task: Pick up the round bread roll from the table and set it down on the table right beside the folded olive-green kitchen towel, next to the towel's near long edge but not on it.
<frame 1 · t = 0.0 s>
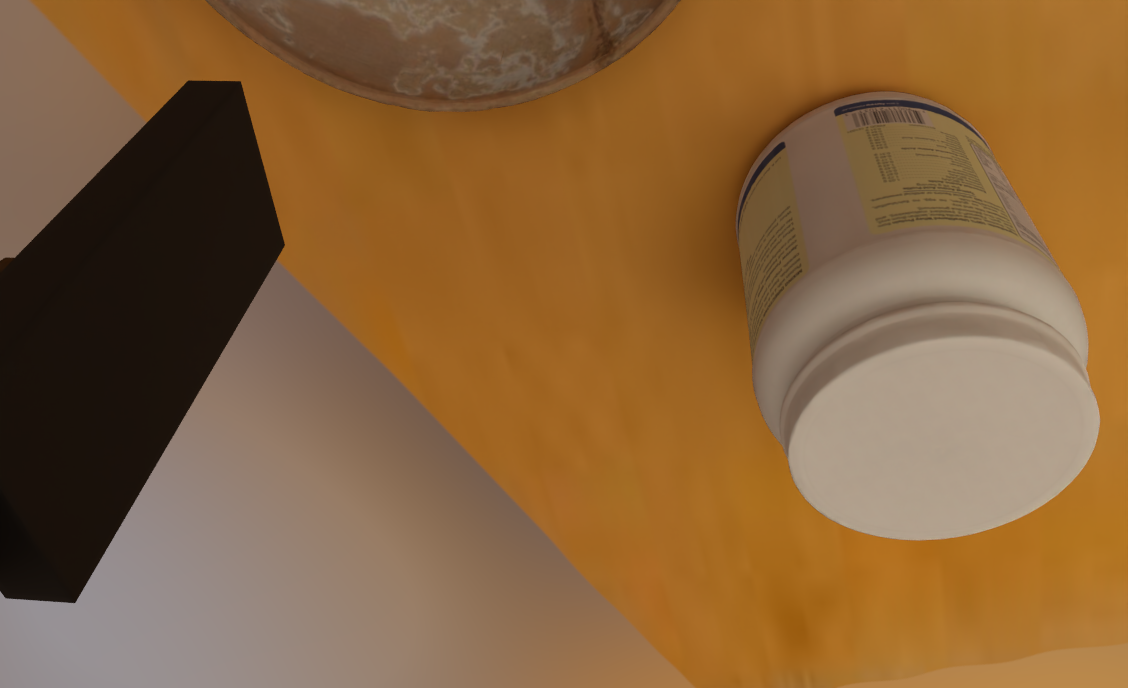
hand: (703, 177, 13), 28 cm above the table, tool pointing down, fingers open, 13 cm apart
supplement tub: (858, 196, 44), on the table
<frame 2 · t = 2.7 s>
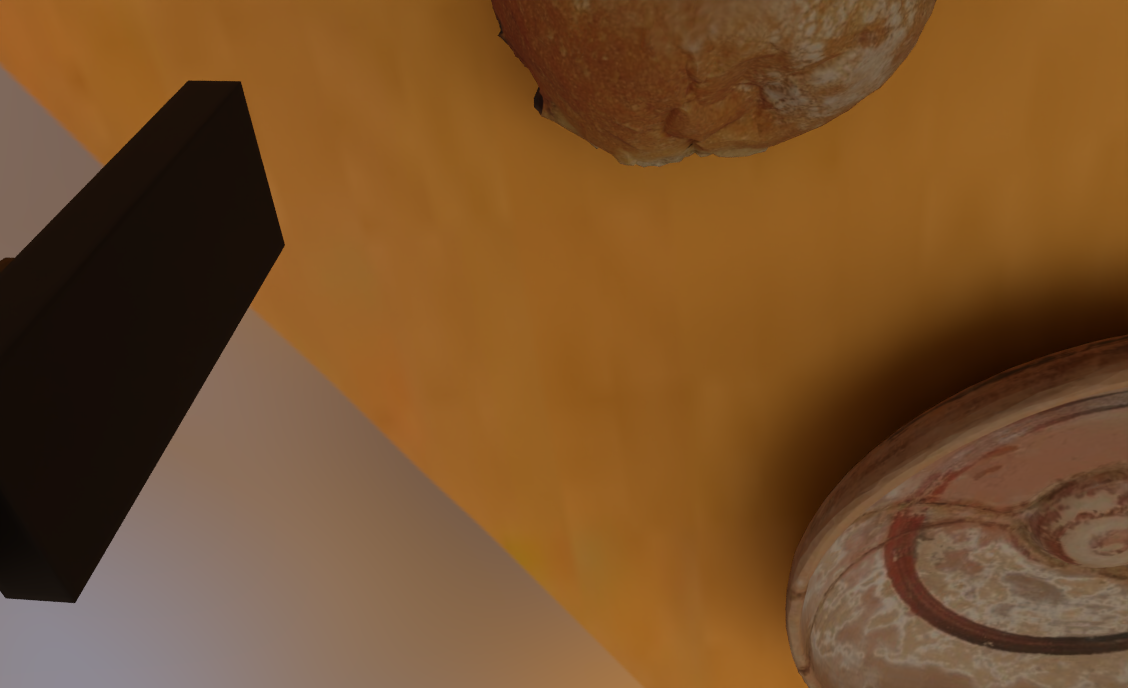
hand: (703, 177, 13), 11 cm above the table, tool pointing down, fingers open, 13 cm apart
ceramic bowl: (1098, 504, 33), on the table
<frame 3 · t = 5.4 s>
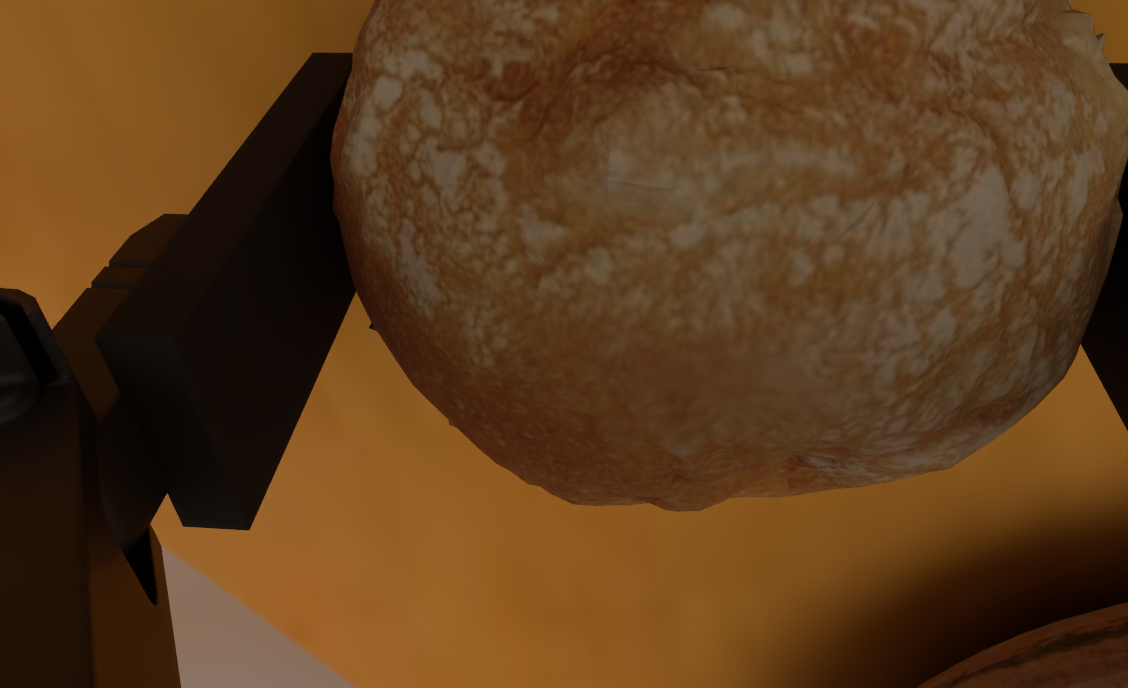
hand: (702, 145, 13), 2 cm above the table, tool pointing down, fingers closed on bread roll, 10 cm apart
bread roll: (695, 129, 14), point 2 cm above the table, touching gripper
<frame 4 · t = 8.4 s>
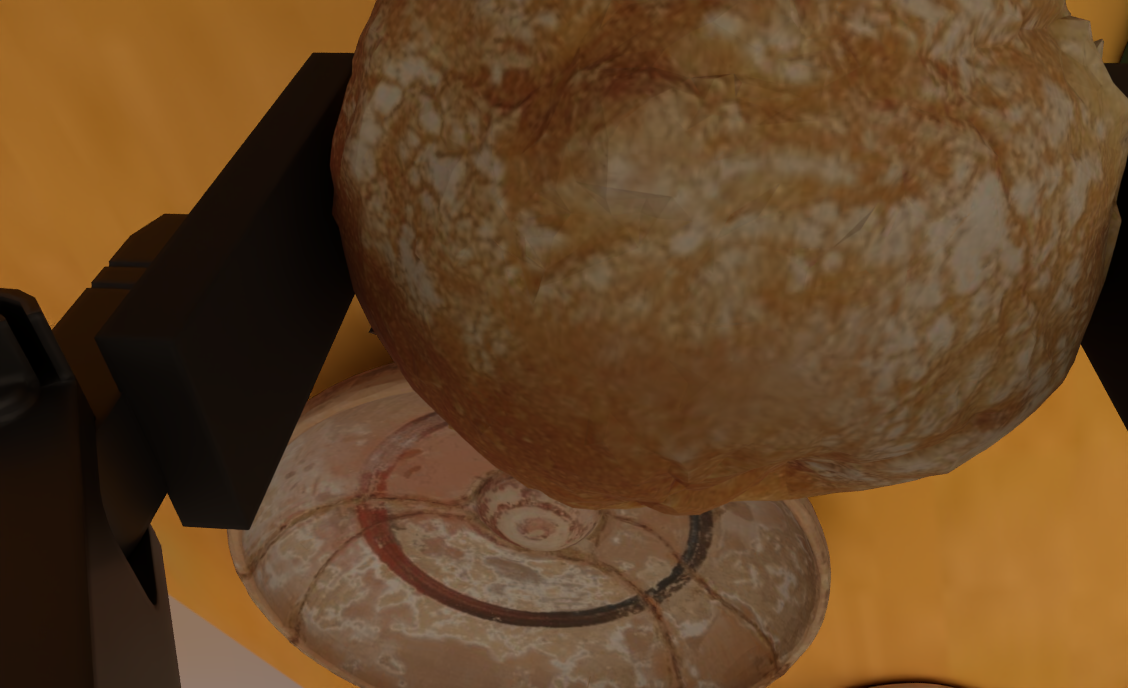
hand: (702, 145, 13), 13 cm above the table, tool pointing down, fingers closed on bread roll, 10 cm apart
ceramic bowl: (540, 497, 39), on the table
bread roll: (694, 133, 14), point 12 cm above the table, touching gripper
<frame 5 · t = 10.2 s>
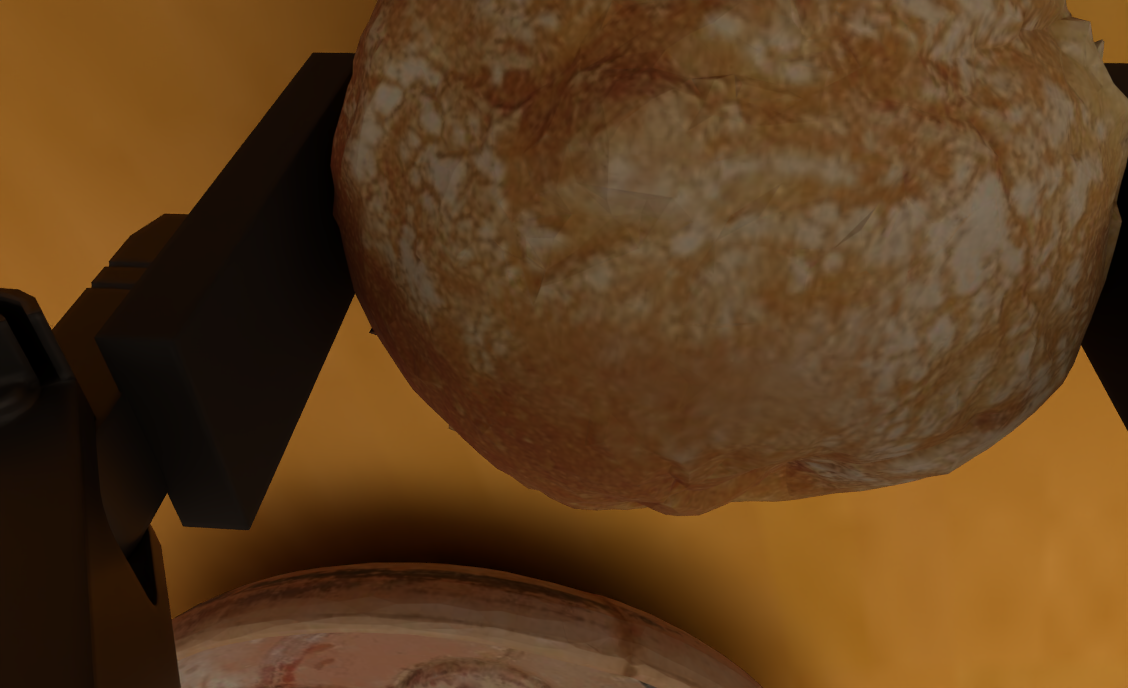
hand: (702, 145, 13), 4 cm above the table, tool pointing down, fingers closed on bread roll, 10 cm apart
ceramic bowl: (483, 681, 32), on the table
bread roll: (695, 133, 14), point 3 cm above the table, touching gripper
when the fingers open (0 cm above the table, at t = 11.6 s): bread roll stays where it is, on the table.
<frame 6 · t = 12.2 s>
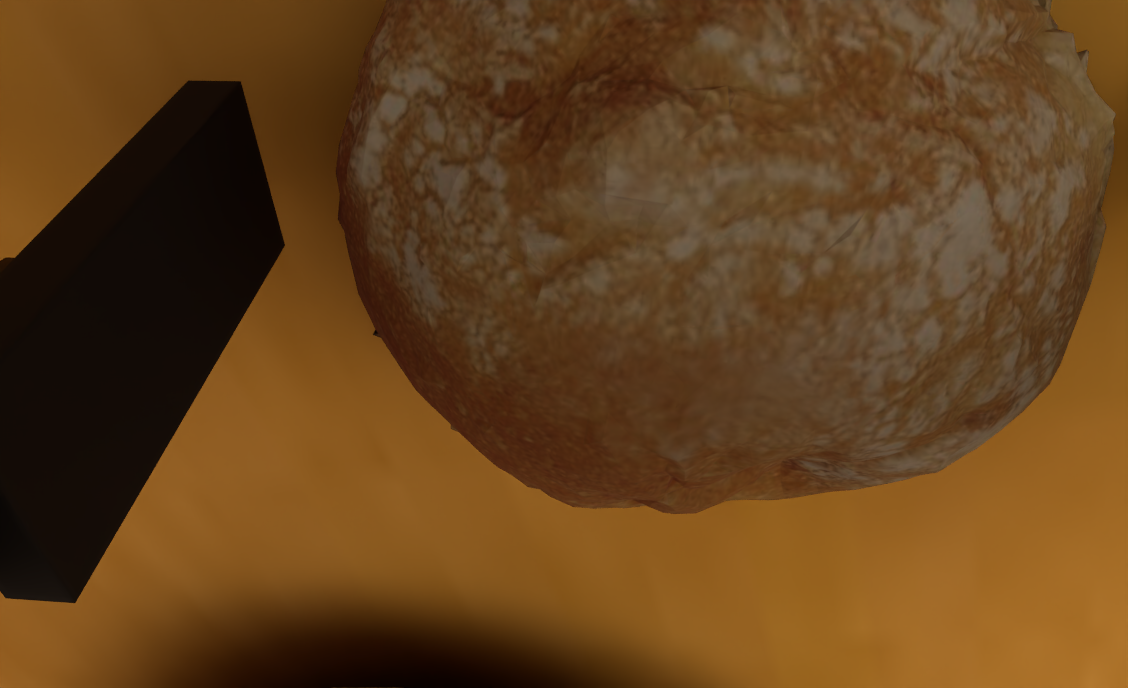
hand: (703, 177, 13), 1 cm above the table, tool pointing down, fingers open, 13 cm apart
bread roll: (692, 140, 14), on the table
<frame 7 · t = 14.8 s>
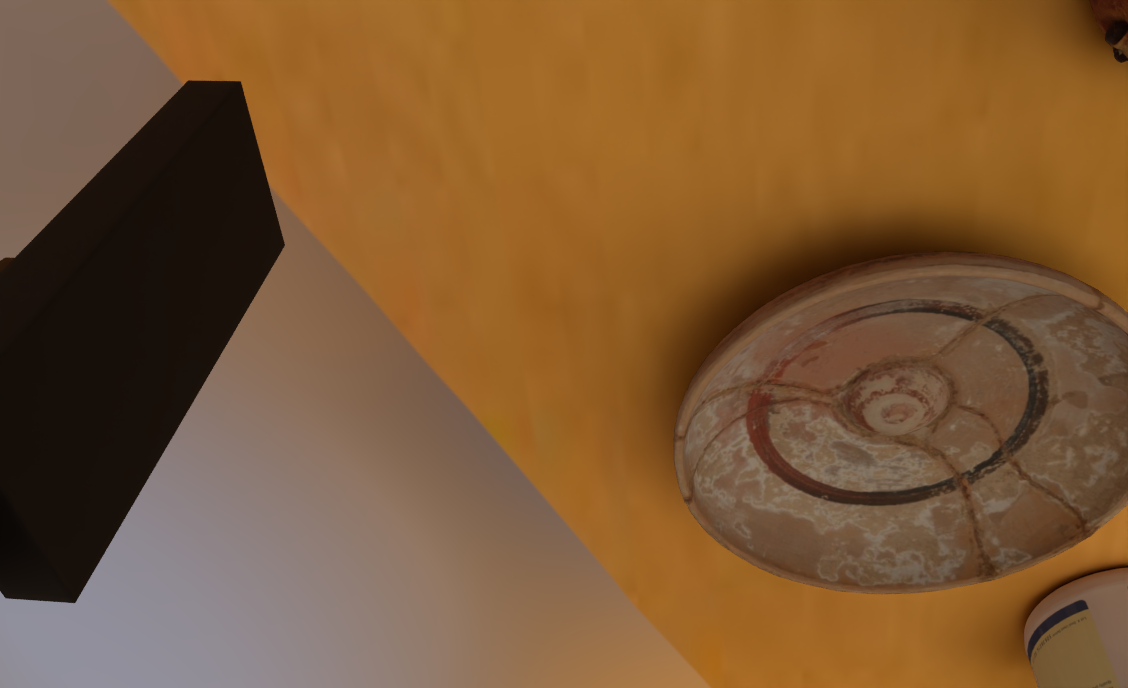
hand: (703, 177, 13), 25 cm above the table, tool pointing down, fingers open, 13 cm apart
supplement tub: (1117, 611, 58), on the table
ceramic bowl: (891, 391, 48), on the table
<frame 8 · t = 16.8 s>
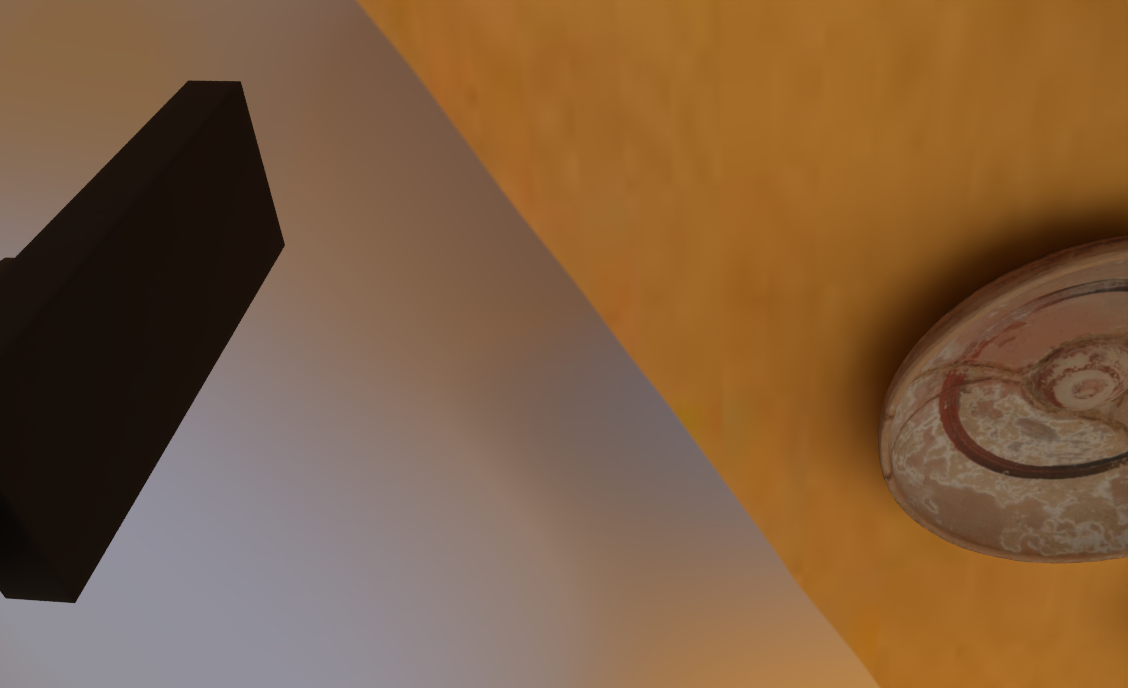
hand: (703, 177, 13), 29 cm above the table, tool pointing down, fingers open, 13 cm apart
ceramic bowl: (1077, 368, 51), on the table
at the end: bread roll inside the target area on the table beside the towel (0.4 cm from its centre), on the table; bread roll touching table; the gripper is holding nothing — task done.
